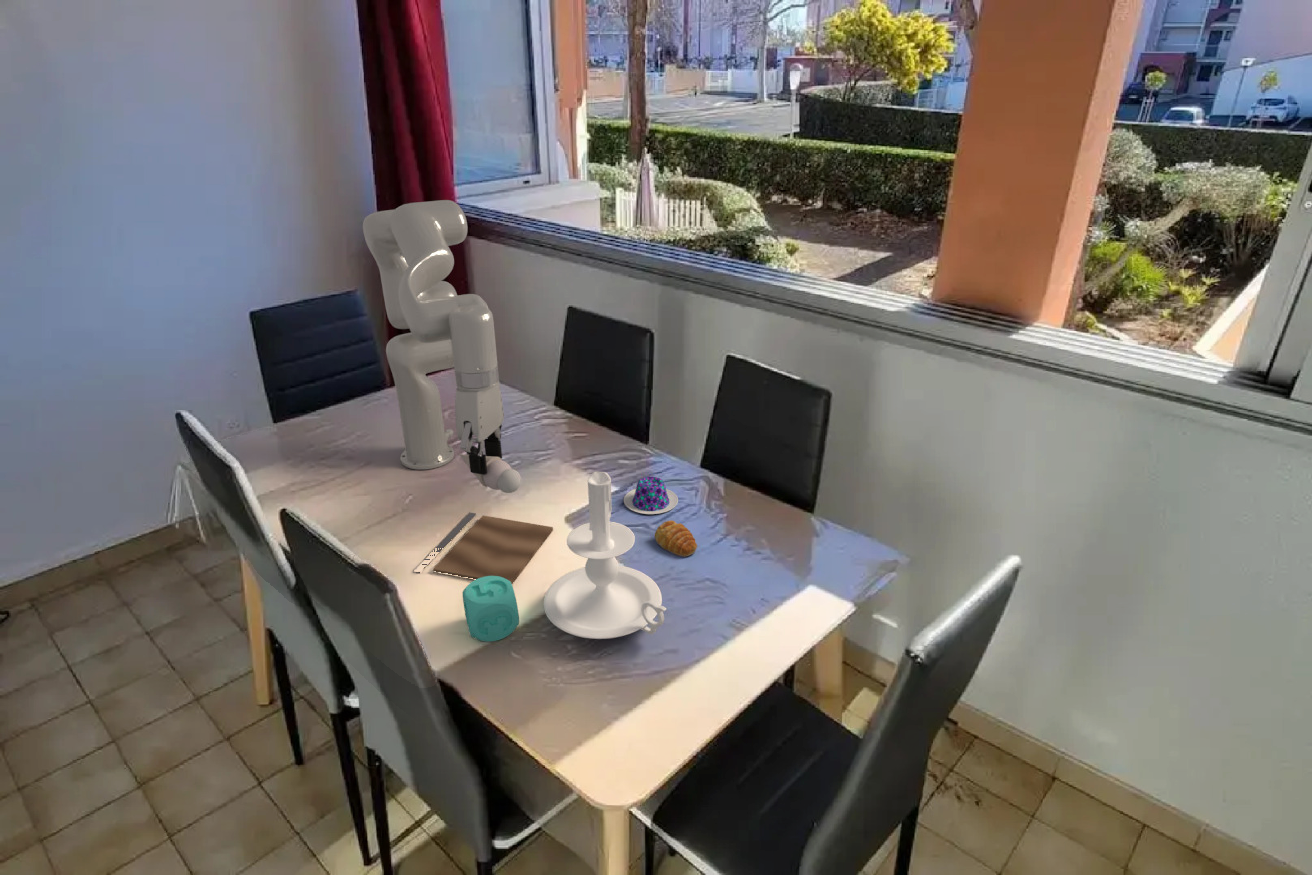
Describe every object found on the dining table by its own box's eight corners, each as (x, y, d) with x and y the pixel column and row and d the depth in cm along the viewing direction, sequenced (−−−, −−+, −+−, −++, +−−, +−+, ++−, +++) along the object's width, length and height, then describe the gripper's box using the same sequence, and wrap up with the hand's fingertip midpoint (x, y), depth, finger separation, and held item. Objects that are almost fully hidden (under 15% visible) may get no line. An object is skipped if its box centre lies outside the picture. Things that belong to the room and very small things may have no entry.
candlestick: (621, 684, 123) (618, 533, 111) (520, 616, 138) (507, 476, 126) (703, 620, 137) (708, 480, 125) (603, 564, 152) (599, 434, 139)
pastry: (705, 551, 156) (706, 535, 155) (678, 563, 153) (678, 547, 151) (676, 530, 163) (676, 514, 161) (650, 541, 160) (650, 525, 158)
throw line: (469, 513, 169) (469, 512, 168) (476, 514, 168) (475, 513, 168) (413, 572, 150) (413, 570, 149) (420, 573, 149) (420, 572, 149)
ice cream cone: (459, 471, 154) (518, 503, 148) (442, 465, 148) (502, 497, 142) (474, 443, 154) (533, 474, 148) (457, 436, 149) (517, 467, 143)
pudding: (624, 517, 168) (623, 496, 165) (623, 489, 178) (622, 469, 176) (680, 516, 168) (680, 495, 166) (675, 488, 179) (676, 468, 177)
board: (483, 518, 167) (482, 515, 166) (552, 530, 163) (552, 527, 162) (433, 572, 150) (433, 568, 149) (510, 587, 145) (509, 583, 145)
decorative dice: (465, 618, 138) (460, 581, 134) (510, 607, 140) (507, 570, 137) (473, 647, 131) (468, 608, 127) (520, 635, 134) (517, 597, 130)
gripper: (480, 357, 148) (489, 443, 156) (433, 391, 133) (445, 484, 141) (517, 361, 146) (524, 448, 154) (472, 396, 131) (483, 490, 139)
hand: (486, 464), depth 148 cm, fingers closed on ice cream cone, 5 cm apart
